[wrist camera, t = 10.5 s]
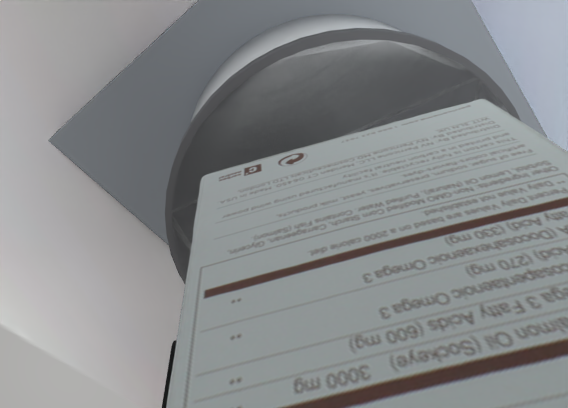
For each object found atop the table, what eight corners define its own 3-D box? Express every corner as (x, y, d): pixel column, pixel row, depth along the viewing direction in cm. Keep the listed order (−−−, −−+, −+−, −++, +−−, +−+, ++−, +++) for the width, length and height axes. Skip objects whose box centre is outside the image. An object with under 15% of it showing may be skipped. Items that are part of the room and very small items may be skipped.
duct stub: (371, -160, 16) (438, -211, 10) (556, 167, 22) (656, 239, 17) (57, 131, 19) (-12, 204, 14) (292, 340, 25) (307, 445, 20)
